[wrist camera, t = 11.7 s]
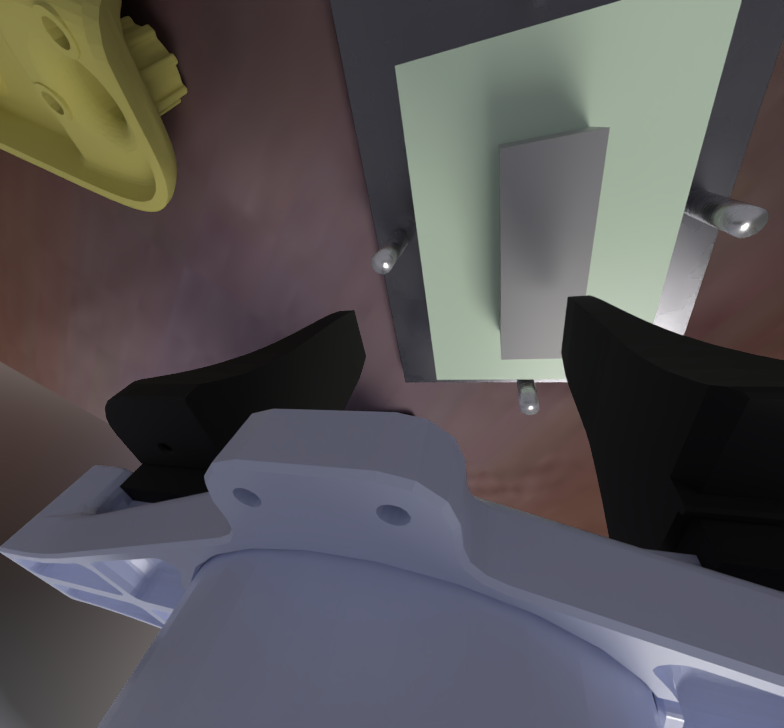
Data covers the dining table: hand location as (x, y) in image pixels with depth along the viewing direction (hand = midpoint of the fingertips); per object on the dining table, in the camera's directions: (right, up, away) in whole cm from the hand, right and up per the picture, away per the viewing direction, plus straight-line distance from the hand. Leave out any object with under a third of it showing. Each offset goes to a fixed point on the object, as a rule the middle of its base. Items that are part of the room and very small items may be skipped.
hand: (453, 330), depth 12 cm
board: (+4, +4, +3) cm, 7 cm away
